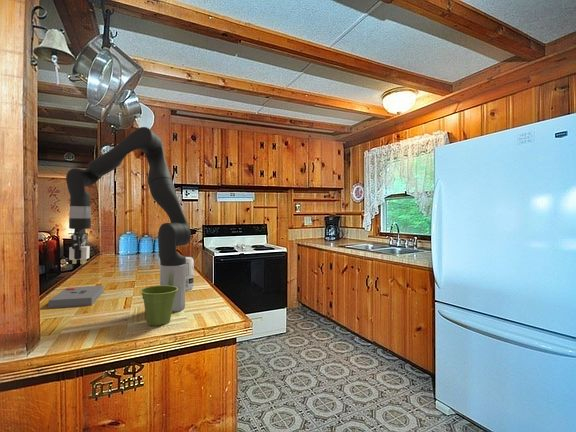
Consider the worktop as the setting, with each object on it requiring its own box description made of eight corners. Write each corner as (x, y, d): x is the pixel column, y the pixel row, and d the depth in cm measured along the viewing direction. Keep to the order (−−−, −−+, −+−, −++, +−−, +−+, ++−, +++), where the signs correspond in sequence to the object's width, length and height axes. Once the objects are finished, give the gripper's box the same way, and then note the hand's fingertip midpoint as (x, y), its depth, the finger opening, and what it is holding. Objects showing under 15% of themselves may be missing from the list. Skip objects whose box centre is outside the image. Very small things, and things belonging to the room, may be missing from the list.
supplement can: (172, 288, 147) (173, 257, 146) (188, 285, 153) (188, 256, 152) (180, 291, 141) (181, 259, 141) (196, 288, 147) (197, 258, 147)
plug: (86, 264, 125) (86, 247, 125) (69, 264, 123) (69, 247, 123) (89, 262, 129) (89, 246, 129) (72, 262, 127) (73, 246, 127)
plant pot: (176, 327, 98) (177, 292, 98) (136, 330, 95) (136, 294, 95) (178, 315, 110) (179, 284, 110) (143, 317, 106) (143, 285, 106)
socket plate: (91, 305, 119) (91, 296, 119) (48, 308, 114) (48, 298, 114) (103, 292, 138) (103, 284, 138) (66, 294, 133) (67, 286, 133)
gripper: (85, 217, 120) (85, 260, 120) (95, 217, 134) (94, 255, 134) (63, 217, 118) (62, 261, 118) (75, 216, 131) (74, 256, 131)
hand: (79, 258), depth 126 cm, fingers closed on plug, 4 cm apart
